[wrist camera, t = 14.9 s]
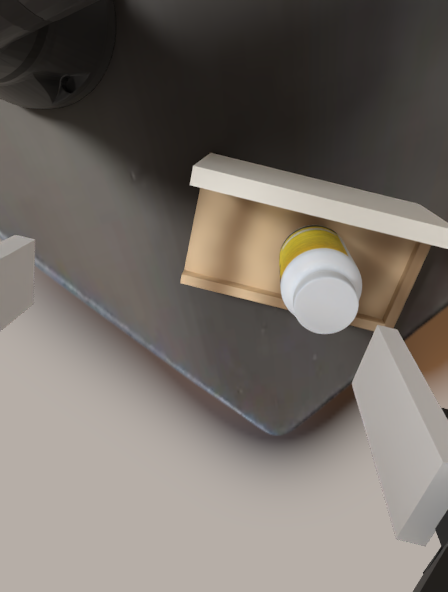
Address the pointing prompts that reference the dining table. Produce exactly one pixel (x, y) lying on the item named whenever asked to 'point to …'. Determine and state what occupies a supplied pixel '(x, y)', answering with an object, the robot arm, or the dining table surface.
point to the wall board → (320, 199)
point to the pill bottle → (319, 279)
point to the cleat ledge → (266, 248)
